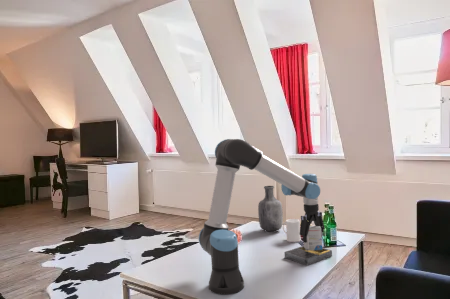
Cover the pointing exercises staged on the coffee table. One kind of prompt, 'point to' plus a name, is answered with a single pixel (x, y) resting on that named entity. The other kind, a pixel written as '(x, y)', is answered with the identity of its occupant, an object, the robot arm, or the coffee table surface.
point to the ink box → (314, 238)
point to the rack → (307, 255)
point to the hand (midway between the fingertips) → (313, 245)
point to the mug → (292, 230)
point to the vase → (270, 211)
